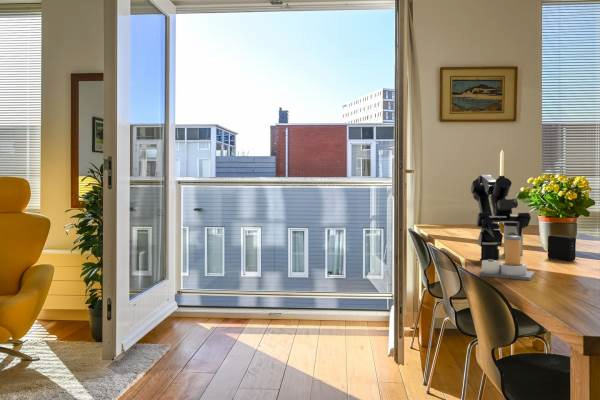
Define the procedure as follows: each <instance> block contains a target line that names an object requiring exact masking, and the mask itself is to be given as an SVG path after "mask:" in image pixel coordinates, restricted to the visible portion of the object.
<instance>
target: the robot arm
mask: <svg viewBox="0 0 600 400" xmlns="http://www.w3.org/2000/svg"><path fill="white" fill-rule="evenodd" d="M512 182H513V181H512V180H510V178H507V177H505V175H499V176H498V177H497V178H496V179H495V178H494V177H492V175H491V174H479V175H478V177H477V178H476V179H475V180H473V181H472V184H471V186H470V193H471V194H472V197H473V199H474V200H475V201H477V203H478V207H479V213H477V218H476V226H477V227H478V228H481V229H480V231H479V235H478V238H477V244H478V246H479V247H480V250H481V251H480V258H479V260H480V261H483V260H488V259H493V260H496V261H499V260H500V248H499V247H502V246H503V245H502V244H503V239H504V234H503V233H502V231H501V229H500V224H499V223H504V222H516V225H517V227H516V228H517V232H518V236H520V237H521V233H522V228H523V229H525V228H526V227H528V226H529V225H530V221H531V218H532V217H531V214H530V212H518V213H517V214H516V215H517V217H511V216H510V215H511V214H512V213H513V210H512V209H517V208H518V206H519V202H518V200H517V199H518V198H511V199H510V198H508V199H507V197H508V196H509V193H510V191H511V186H512ZM491 206H492V207H491ZM512 215H513V214H512ZM498 259H499V260H498Z"/></svg>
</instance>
